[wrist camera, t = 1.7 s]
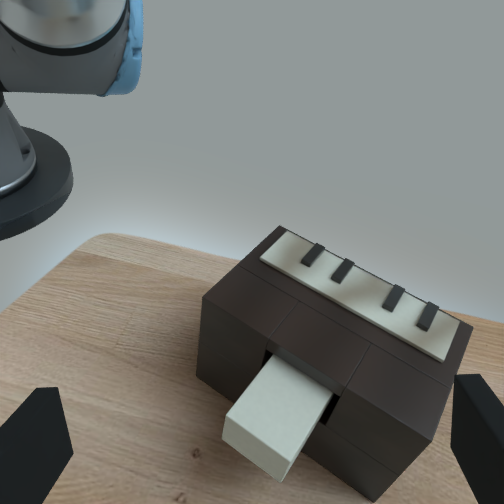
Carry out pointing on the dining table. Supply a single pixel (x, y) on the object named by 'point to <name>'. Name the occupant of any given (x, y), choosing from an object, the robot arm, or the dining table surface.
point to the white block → (275, 416)
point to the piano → (336, 353)
